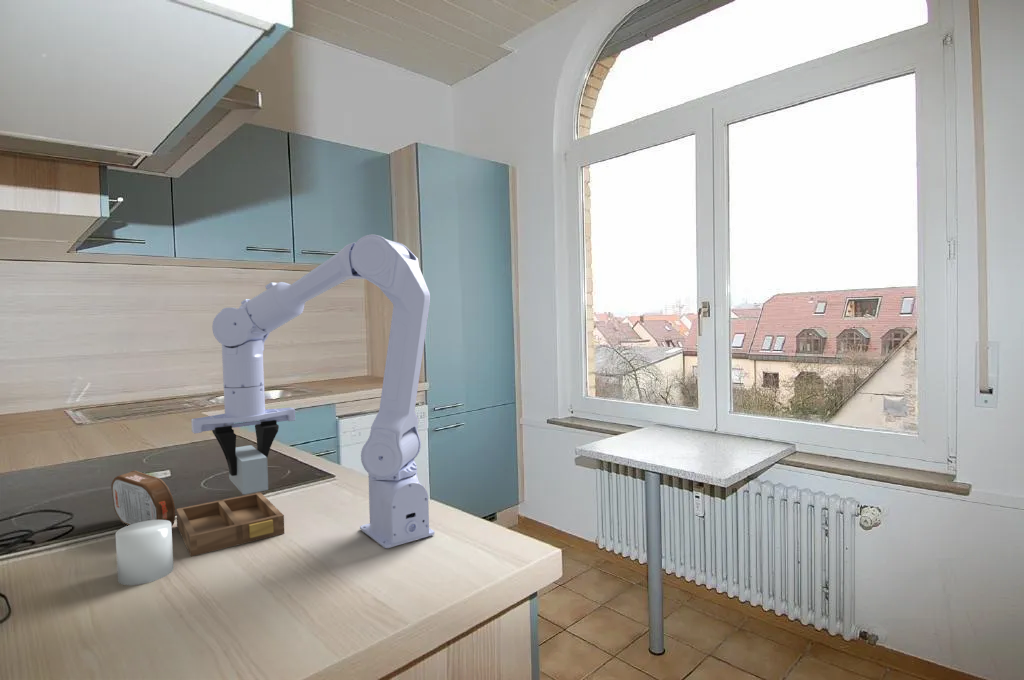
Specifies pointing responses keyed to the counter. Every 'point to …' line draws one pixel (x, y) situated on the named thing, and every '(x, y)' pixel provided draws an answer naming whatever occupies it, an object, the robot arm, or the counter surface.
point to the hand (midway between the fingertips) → (247, 471)
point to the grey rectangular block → (250, 470)
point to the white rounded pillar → (144, 552)
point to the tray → (228, 523)
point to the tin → (142, 498)
